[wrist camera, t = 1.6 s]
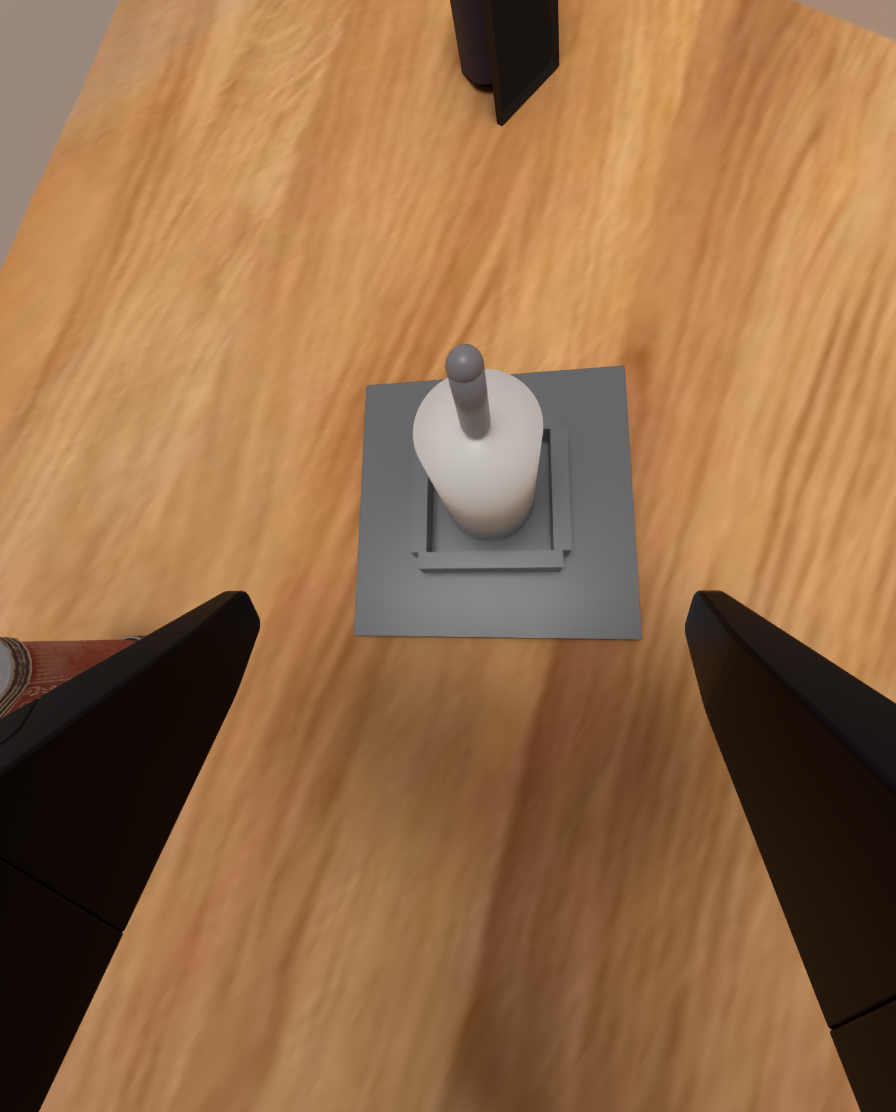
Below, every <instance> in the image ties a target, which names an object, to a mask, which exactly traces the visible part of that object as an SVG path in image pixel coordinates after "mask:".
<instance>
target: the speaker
mask: <svg viewBox="0 0 896 1112" xmlns="http://www.w3.org/2000/svg"><path fill="white" fill-rule="evenodd" d="M450 3H451V9H452V15H453V21H454V27H455V33H456V39H457V44H458V50H459V56H460V62H461V68H462V72H463V73H464V74H465V75H466V76H467V77H468V78H469V79H471V80H472V81H473V82H474V83H477V84H485V85H486V84H490V83H492V84H493V92H494V100H495V108H496V116H497V124H500V125H503V124H504V123H505V122H506V121H507V120H508V119H509V117H510V116H511V115H512V114H513V113H514V112H515V111H516V110H517V109H518V108H519V107H520V106H521V105H522V104H523V103H524V102H525V101H526V100H527V99H528V98H529V96H530V95H531V94H532V93H533V92H534V91H535V90H536V89H537V88H538V87H539V86H540V85H541V84H542V83H543V82H544V81H545V80H546V79H547V78H548V77H549V75H550V74H551V73H552V72H553V71H554V70H555V69H556V68H557V67H558V66H559V28H558V0H450Z"/></svg>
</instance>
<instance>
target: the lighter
mask: <svg viewBox="0 0 896 1112" xmlns="http://www.w3.org/2000/svg"><path fill="white" fill-rule="evenodd" d="M144 637H145V636H129V637H125V638H123V639H121V640H87V641H32V642H21V641H20V640H18V639H17V638H10V637H0V718H2V717H4V716H6V715H8V714H9V713H11V712H13V711H15V710H17V709H18V708H20V707H22V706H24V705H25V704H27V703H29V702H31V701H32V700H34V699H36V698H40V697H41V696H42V695H43V694H45V693H47V692H48V691H50V690H52V689H54V688H56V687H57V686H59V685H61V684H63V683H64V682H66V681H68V680H70V679H71V678H73V677H75V676H77V675H78V674H80V673H82V672H84V671H85V670H87V669H89V668H91V667H93V666H94V665H96V664H98V663H100V662H101V661H103V660H105V659H107V658H108V657H110V656H112V655H114V654H115V653H117V652H119V651H121V650H122V649H124V648H126V647H128V646H130V645H131V644H133V643H135V642H137V641H138V640H140V639H142V638H144Z"/></svg>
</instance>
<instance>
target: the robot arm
mask: <svg viewBox="0 0 896 1112" xmlns="http://www.w3.org/2000/svg"><path fill="white" fill-rule="evenodd" d="M259 630H260V619H259V616H258V614H257V612H256V610H255V608H254V605H253V603H252V601H251V599H250V597H249V595H248V594H247V593H246V592H244V591H225V592H223V593H221V594H219V595H218V596H216V597H214V598H212V599H211V600H209V601H207V602H205V603H203V604H202V605H200V606H198V607H196V608H195V609H193V610H191V611H189V612H188V613H186V614H184V615H182V616H181V617H179V618H177V619H175V620H174V621H172V622H170V623H168V624H166V625H165V626H163V627H161V628H159V629H158V630H156V631H154V632H152V633H151V634H149V635H147V636H145V637H144V638H142V639H140V640H138V641H137V642H135V643H133V644H131V645H130V646H128V647H126V648H124V649H122V650H121V651H119V652H117V653H115V654H114V655H112V656H110V657H108V658H107V659H105V660H103V661H101V662H100V663H98V664H96V665H94V666H93V667H91V668H89V669H87V670H85V671H84V672H82V673H80V674H78V675H77V676H75V677H73V678H71V679H70V680H68V681H66V682H64V683H63V684H61V685H59V686H57V687H56V688H54V689H52V690H50V691H48V692H47V693H45V694H43V695H42V696H41V697H40V698H36V699H34V700H32V701H31V702H29V703H27V704H25V705H24V706H22V707H20V708H18V709H17V710H15V711H13V712H11V713H9V714H8V715H6V716H4V717H2V718H0V1112H39V1110H40V1108H41V1106H42V1104H43V1102H44V1100H45V1098H46V1096H47V1094H48V1092H49V1089H50V1087H51V1085H52V1083H53V1081H54V1079H55V1077H56V1075H57V1073H58V1070H59V1068H60V1066H61V1064H62V1062H63V1060H64V1058H65V1056H66V1054H67V1051H68V1049H69V1047H70V1045H71V1043H72V1041H73V1039H74V1037H75V1035H76V1032H77V1030H78V1028H79V1026H80V1024H81V1022H82V1020H83V1018H84V1016H85V1013H86V1011H87V1009H88V1007H89V1005H90V1003H91V1001H92V999H93V997H94V994H95V992H96V990H97V988H98V986H99V984H100V982H101V980H102V977H103V975H104V973H105V971H106V969H107V967H108V965H109V963H110V961H111V958H112V956H113V954H114V952H115V950H116V948H117V946H118V944H119V942H120V939H121V937H122V935H123V933H122V932H123V931H124V930H125V928H126V926H127V924H128V922H129V920H130V918H131V916H132V914H133V911H134V909H135V907H136V905H137V903H138V901H139V899H140V897H141V895H142V892H143V890H144V888H145V886H146V884H147V882H148V880H149V878H150V876H151V873H152V871H153V869H154V867H155V865H156V863H157V861H158V859H159V857H160V854H161V852H162V850H163V848H164V846H165V844H166V842H167V840H168V838H169V835H170V833H171V831H172V829H173V827H174V825H175V823H176V821H177V819H178V817H179V814H180V812H181V810H182V808H183V806H184V804H185V802H186V800H187V798H188V795H189V793H190V791H191V789H192V787H193V785H194V783H195V781H196V779H197V776H198V774H199V772H200V770H201V768H202V766H203V764H204V762H205V760H206V757H207V755H208V753H209V751H210V749H211V747H212V745H213V743H214V741H215V738H216V736H217V734H218V732H219V730H220V728H221V726H222V724H223V722H224V719H225V717H226V715H227V713H228V711H229V709H230V707H231V705H232V703H233V700H234V698H235V696H236V694H237V691H238V689H239V686H240V683H241V681H242V678H243V675H244V672H245V670H246V667H247V664H248V661H249V658H250V655H251V653H252V650H253V647H254V644H255V641H256V639H257V636H258V633H259ZM685 635H686V639H687V643H688V647H689V651H690V655H691V658H692V662H693V666H694V670H695V674H696V678H697V682H698V686H699V690H700V694H701V697H702V701H703V704H704V708H705V711H706V714H707V717H708V719H709V722H710V725H711V727H712V730H713V733H714V735H715V738H716V740H717V743H718V745H719V748H720V751H721V753H722V756H723V758H724V761H725V763H726V766H727V769H728V771H729V774H730V776H731V779H732V781H733V784H734V787H735V789H736V792H737V794H738V797H739V799H740V802H741V805H742V807H743V810H744V812H745V815H746V817H747V820H748V822H749V825H750V828H751V830H752V833H753V835H754V838H755V840H756V843H757V846H758V848H759V851H760V853H761V856H762V858H763V861H764V864H765V866H766V869H767V871H768V874H769V876H770V879H771V882H772V884H773V887H774V889H775V892H776V894H777V897H778V900H779V902H780V905H781V907H782V910H783V912H784V915H785V918H786V920H787V923H788V925H789V928H790V930H791V933H792V936H793V938H794V941H795V943H796V946H797V948H798V951H799V953H800V956H801V959H802V961H803V964H804V966H805V969H806V971H807V974H808V977H809V979H810V982H811V984H812V987H813V989H814V992H815V995H816V997H817V1000H818V1002H819V1005H820V1007H821V1010H822V1013H823V1015H824V1018H825V1020H826V1023H827V1025H828V1027H829V1028H830V1029H832V1030H831V1031H830V1034H831V1037H832V1039H833V1042H834V1044H835V1047H836V1050H837V1052H838V1055H839V1057H840V1060H841V1062H842V1065H843V1068H844V1070H845V1073H846V1075H847V1078H848V1080H849V1083H850V1086H851V1088H852V1091H853V1093H854V1096H855V1098H856V1101H857V1104H858V1106H859V1109H860V1111H861V1112H896V703H894V702H893V701H891V700H890V699H888V698H887V697H885V696H883V695H882V694H880V693H879V692H877V691H876V690H874V689H873V688H871V687H870V686H868V685H866V684H865V683H863V682H862V681H860V680H859V679H857V678H856V677H854V676H853V675H851V674H850V673H848V672H846V671H845V670H843V669H842V668H840V667H839V666H837V665H836V664H834V663H833V662H831V661H829V660H828V659H826V658H825V657H823V656H822V655H820V654H819V653H817V652H816V651H814V650H812V649H811V648H809V647H808V646H806V645H805V644H803V643H802V642H800V641H799V640H797V639H795V638H794V637H792V636H791V635H789V634H788V633H786V632H785V631H783V630H782V629H780V628H779V627H777V626H775V625H774V624H772V623H771V622H769V621H768V620H766V619H765V618H763V617H762V616H760V615H758V614H757V613H755V612H754V611H752V610H751V609H749V608H748V607H746V606H745V605H743V604H741V603H740V602H738V601H737V600H735V599H734V598H732V597H731V596H729V595H728V594H726V593H724V592H722V591H718V590H701V591H698V592H696V593H695V594H694V596H693V599H692V602H691V606H690V609H689V613H688V616H687V619H686V623H685Z"/></svg>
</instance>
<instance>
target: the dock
mask: <svg viewBox="0 0 896 1112" xmlns="http://www.w3.org/2000/svg"><path fill="white" fill-rule="evenodd" d="M510 375H512V376H514V377H516V378H517V379H518V380H520V381H521V382H523V383H524V384H525V385H526V386H527V387H528V388H529V389H530V390H531V392H532V393H533V394H534V396H535V398H536V399H537V401H538V403H539V406H540V408H541V412H542V416H543V436H542V443H541V450H540V458H539V465H538V472H537V479H536V487H535V494H534V501H533V507H532V511H531V514H530V516H529V518H528V520H527V521H526V523H525V524H524V525H523V527H522V528H521V529H520V530H518V531H517V532H516V533H514V534H513V535H511V536H509V537H507V538H504V539H501V540H497V541H483V540H478V539H475V538H472V537H470V536H468V535H467V534H465V533H464V532H462V531H461V530H460V529H459V528H458V527H457V526H456V524H455V523H454V521H453V519H452V518H451V516H450V514H449V512H448V510H447V509H446V507H445V505H444V503H443V501H442V500H441V498H440V496H439V494H438V492H437V491H436V489H435V487H434V485H433V483H432V482H431V480H430V478H429V476H428V474H427V473H426V471H425V469H424V467H423V465H422V464H421V462H420V460H419V458H418V456H417V453H416V450H415V447H414V442H413V425H414V420H415V416H416V414H417V411H418V408H419V407H420V405H421V403H422V401H423V400H424V398H425V397H426V395H427V394H428V393H429V392H430V391H431V390H432V389H433V388H434V387H435V386H436V385H437V384H439V383H440V382H441V381H443V380H431V381H418V382H405V383H392V384H380V385H367V386H366V405H365V425H364V445H363V465H362V485H361V505H360V526H359V546H358V566H357V586H356V606H355V627H354V635H376V636H445V637H513V638H582V639H642V633H641V617H640V601H639V586H638V570H637V554H636V539H635V523H634V508H633V492H632V476H631V461H630V445H629V429H628V414H627V398H626V382H625V367H624V366H613V367H600V368H587V369H574V370H561V371H548V372H535V373H522V374H510Z"/></svg>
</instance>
